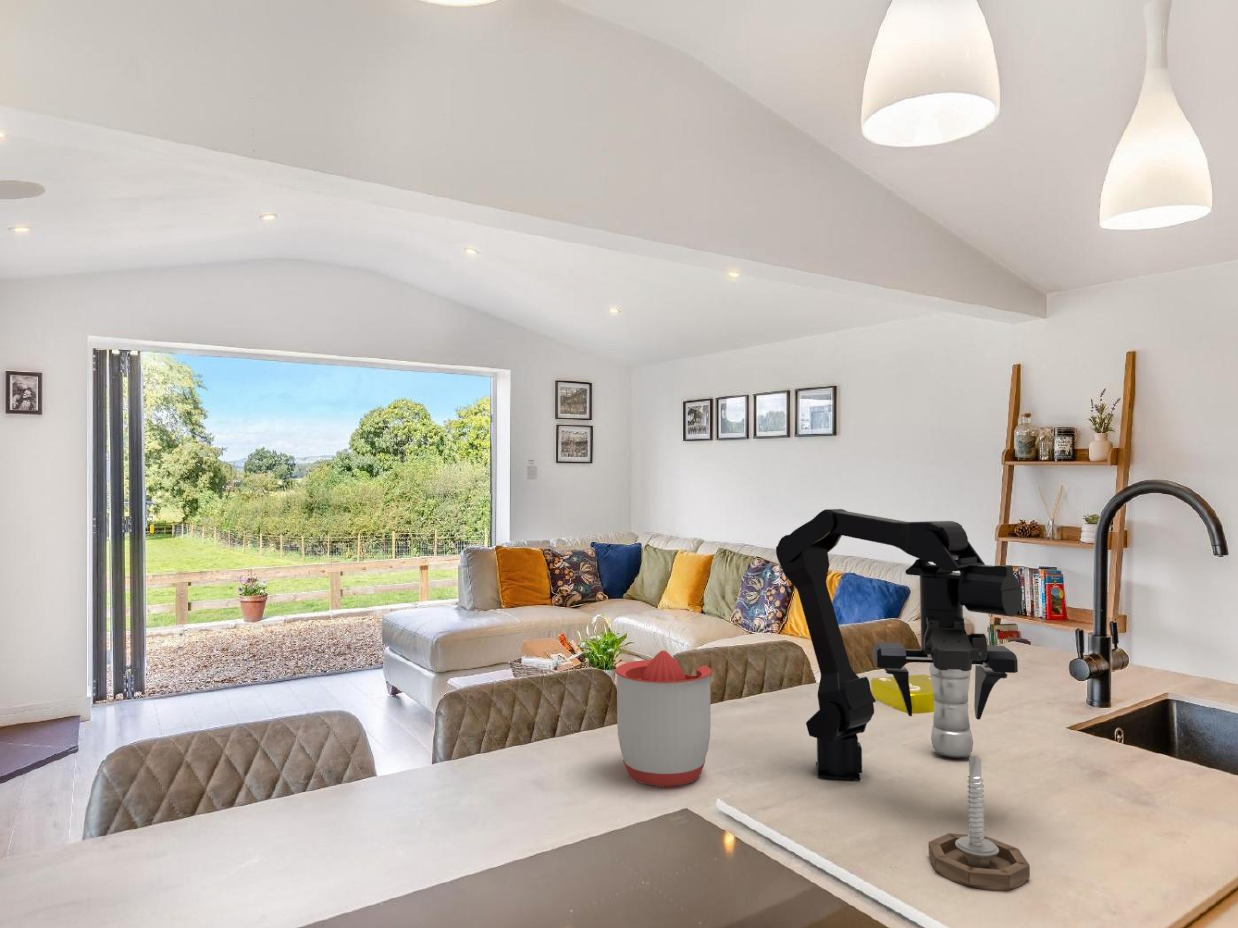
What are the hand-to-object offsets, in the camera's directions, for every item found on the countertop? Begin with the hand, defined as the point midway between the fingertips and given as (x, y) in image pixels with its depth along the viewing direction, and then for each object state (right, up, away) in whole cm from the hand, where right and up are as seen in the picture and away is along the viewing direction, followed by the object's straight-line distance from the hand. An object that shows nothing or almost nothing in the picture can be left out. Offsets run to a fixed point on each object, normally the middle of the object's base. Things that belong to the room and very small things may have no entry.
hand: (943, 717), depth 113 cm
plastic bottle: (+11, -14, +22) cm, 28 cm away
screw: (-3, -12, -18) cm, 22 cm away
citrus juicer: (-39, -14, +14) cm, 44 cm away
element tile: (+18, -16, +56) cm, 61 cm away
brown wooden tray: (-3, -12, -18) cm, 22 cm away
